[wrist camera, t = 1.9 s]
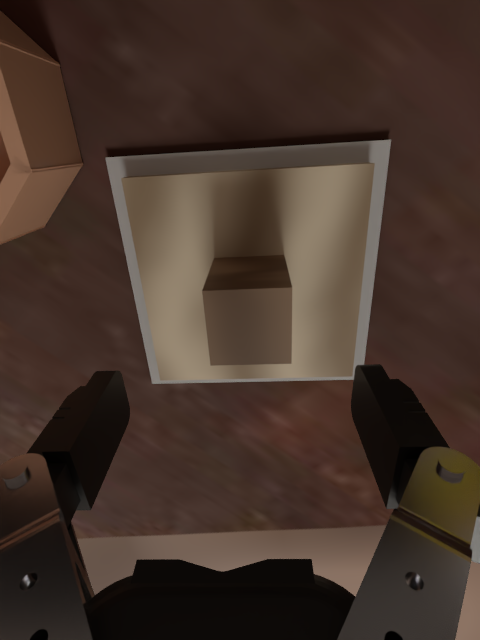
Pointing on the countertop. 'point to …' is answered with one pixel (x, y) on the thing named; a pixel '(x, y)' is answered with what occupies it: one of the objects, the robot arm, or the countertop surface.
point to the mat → (255, 160)
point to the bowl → (32, 134)
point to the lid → (252, 269)
